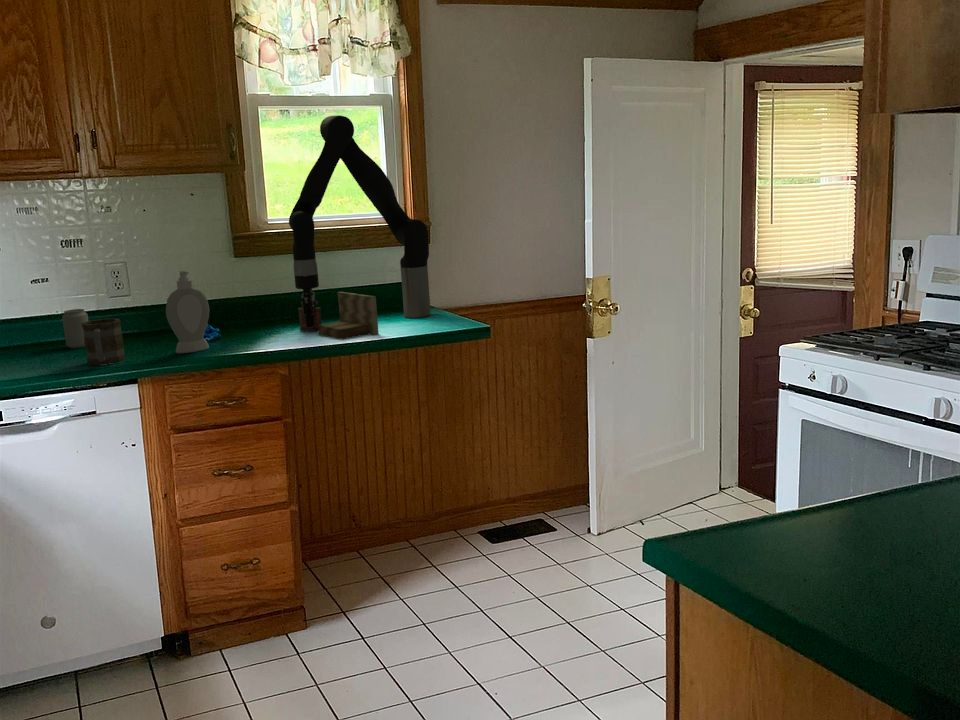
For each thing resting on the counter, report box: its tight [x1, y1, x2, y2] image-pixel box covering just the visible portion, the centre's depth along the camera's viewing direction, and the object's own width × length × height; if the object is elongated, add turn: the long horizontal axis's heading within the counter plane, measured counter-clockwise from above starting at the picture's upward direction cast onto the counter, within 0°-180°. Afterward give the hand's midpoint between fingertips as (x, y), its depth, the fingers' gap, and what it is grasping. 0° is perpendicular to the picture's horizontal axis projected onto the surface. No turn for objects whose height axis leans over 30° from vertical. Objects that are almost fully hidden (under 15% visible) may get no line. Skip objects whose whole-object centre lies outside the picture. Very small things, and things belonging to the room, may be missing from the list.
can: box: [61, 308, 89, 350], centre depth 298 cm, size 8×8×12 cm
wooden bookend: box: [317, 291, 380, 340], centre depth 295 cm, size 20×12×12 cm, turn 40°
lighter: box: [297, 300, 323, 332], centre depth 305 cm, size 8×3×10 cm, turn 68°
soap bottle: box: [165, 269, 210, 354], centre depth 278 cm, size 13×8×24 cm, turn 123°
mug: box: [81, 318, 127, 366], centre depth 268 cm, size 16×11×12 cm
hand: (310, 325), depth 305 cm, fingers closed on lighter, 4 cm apart
